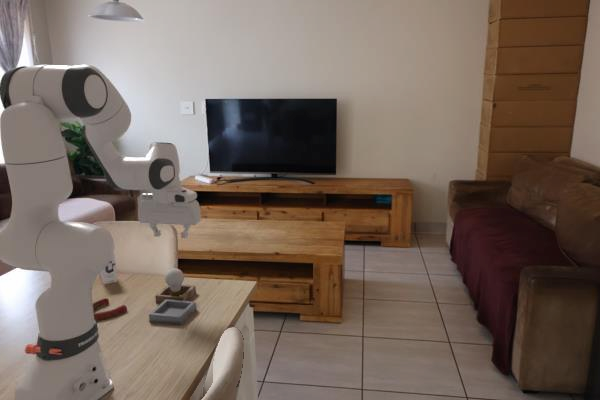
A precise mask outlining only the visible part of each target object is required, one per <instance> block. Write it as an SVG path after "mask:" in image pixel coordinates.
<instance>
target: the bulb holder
mask: <svg viewBox="0 0 600 400" xmlns="http://www.w3.org/2000/svg"><path fill="white" fill-rule="evenodd" d="M196 289H197V288H196V285H188V284H181V289H180V294H182V295H180V296H172V295H171V294H172V292H171V289H170V287H169V285H168V284H167V286H165V287H164V288H162V290H160V291H159V292H157V294H155V295H154V298H155V303H156V304H161V303H162V302H163V301H164V300H166V299H168V300H179V301H189V300H190V299H191V298H192V297H193V296H194V295H196V293H197V290H196Z"/></svg>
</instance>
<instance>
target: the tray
mask: <svg viewBox="0 0 600 400" xmlns="http://www.w3.org/2000/svg"><path fill="white" fill-rule="evenodd" d="M196 310H197V306H196V301H189V300H188V301H179V300H168V299H166V300H164V301H163V302H162V303H159V305H157V306H156V307H155V308H154V309H153V310H152V311H150V313H148V320H149V323H156V324H165V325H167V324H168V325H174V326H175V325H178V326H182V324H183V323H184V322H186V320H187V319H189V318H190V317H191V315H192V314H193V313H194V312H195V311H196Z"/></svg>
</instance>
